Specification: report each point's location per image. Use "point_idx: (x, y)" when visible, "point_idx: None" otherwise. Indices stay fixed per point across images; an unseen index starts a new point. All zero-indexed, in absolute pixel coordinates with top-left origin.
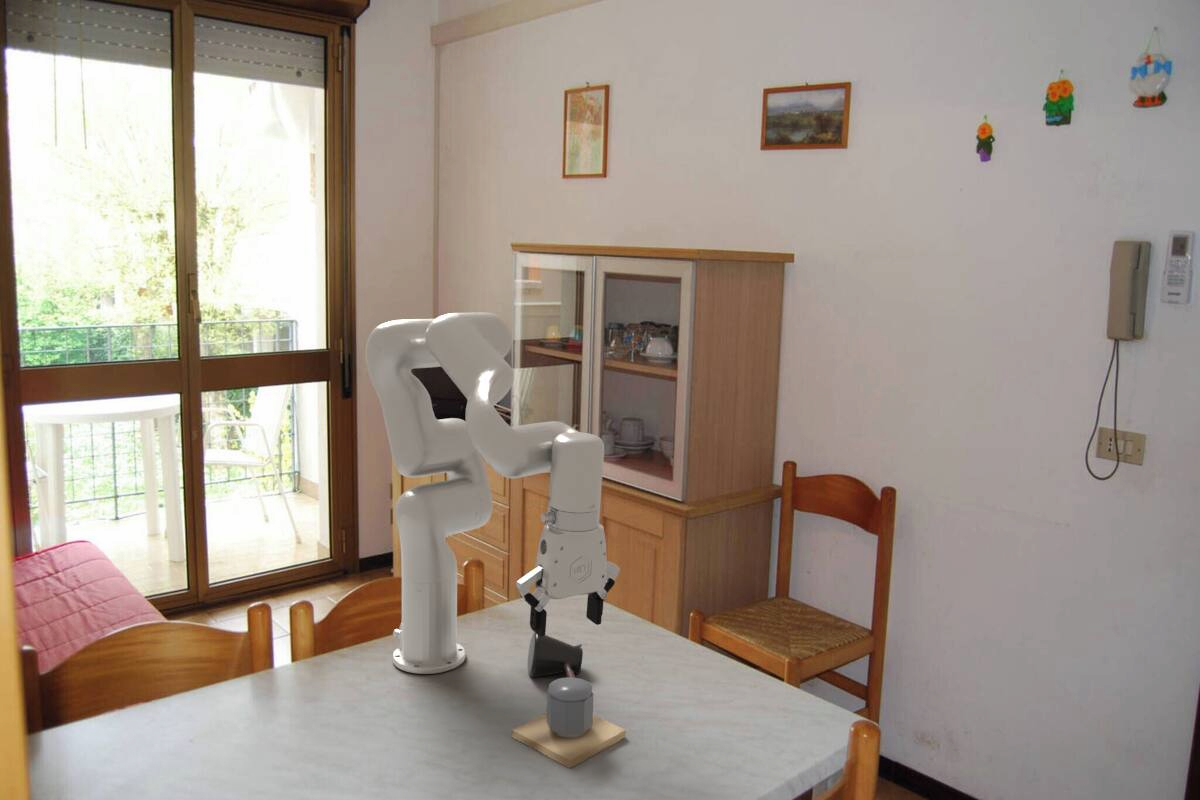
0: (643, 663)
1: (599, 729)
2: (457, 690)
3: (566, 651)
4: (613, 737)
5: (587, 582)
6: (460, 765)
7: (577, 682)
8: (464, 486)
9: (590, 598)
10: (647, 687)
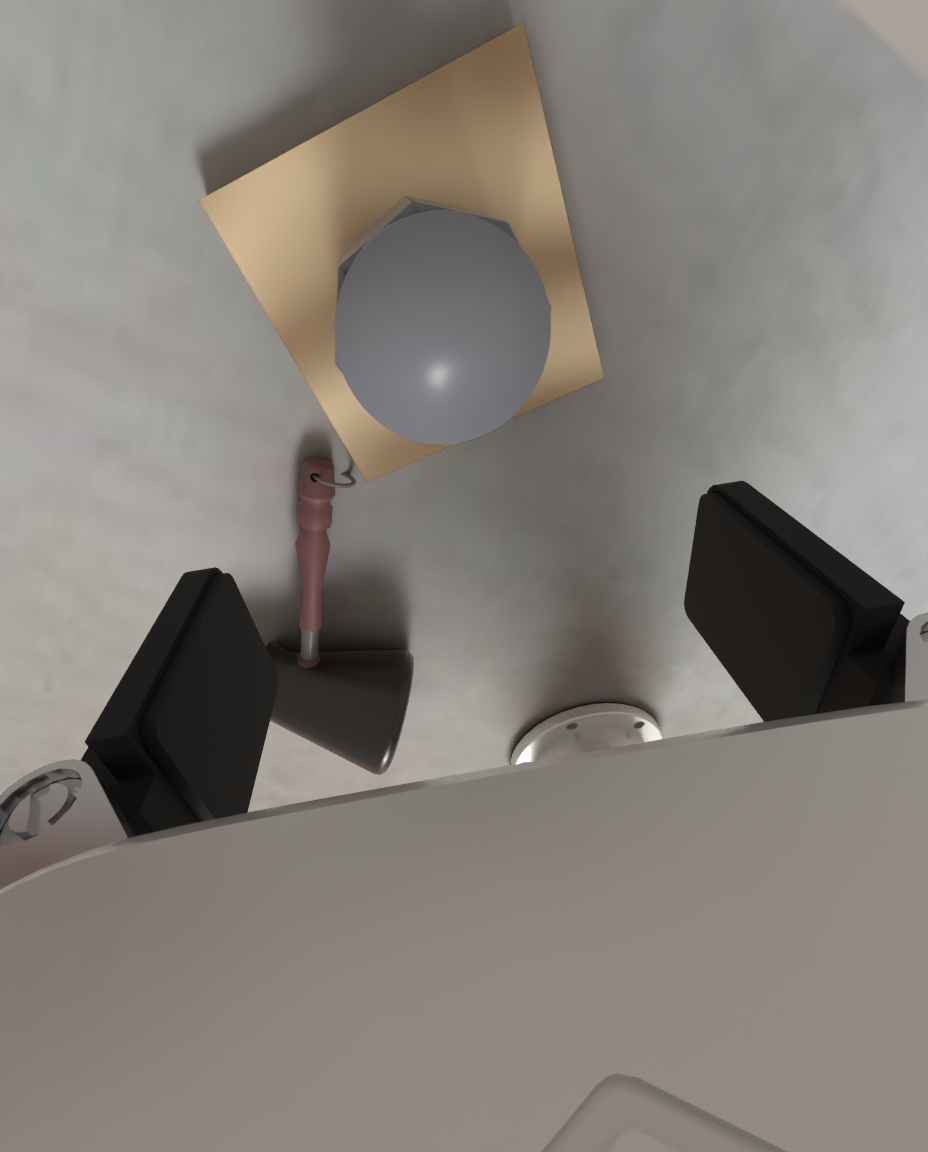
0: (50, 655)
1: (312, 253)
2: (596, 636)
3: (303, 696)
4: (269, 161)
5: (344, 1109)
6: (814, 259)
7: (394, 377)
8: None
9: (225, 801)
10: (53, 527)
